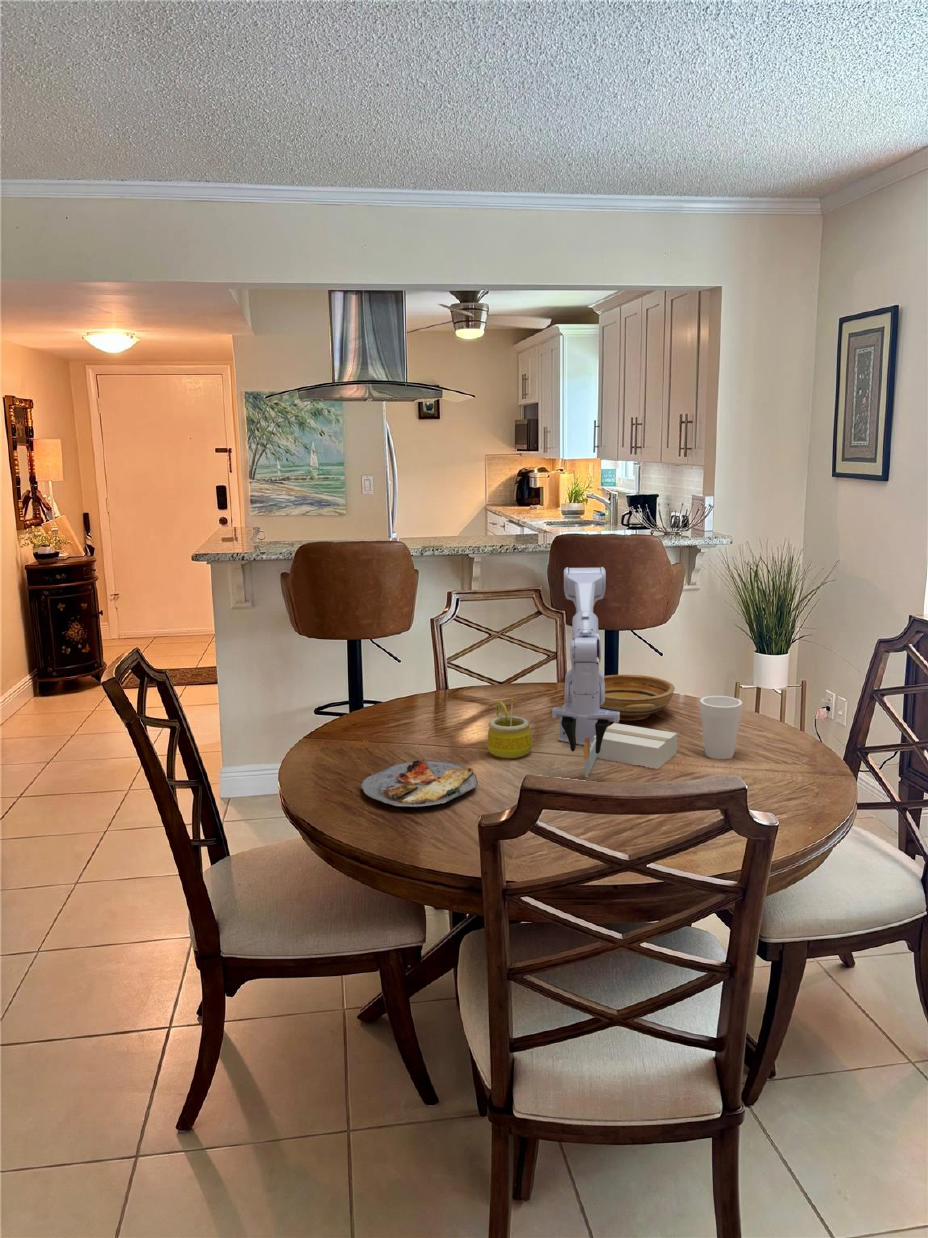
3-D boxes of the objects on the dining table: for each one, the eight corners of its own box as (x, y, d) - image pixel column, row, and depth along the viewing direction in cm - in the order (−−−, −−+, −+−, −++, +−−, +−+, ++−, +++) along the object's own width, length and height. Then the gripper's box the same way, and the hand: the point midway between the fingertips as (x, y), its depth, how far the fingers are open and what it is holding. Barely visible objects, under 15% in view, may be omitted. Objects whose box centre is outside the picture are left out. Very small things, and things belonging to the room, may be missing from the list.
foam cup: (740, 749, 211) (741, 697, 209) (741, 763, 202) (743, 708, 200) (698, 746, 214) (700, 695, 211) (698, 760, 205) (699, 706, 202)
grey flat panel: (594, 757, 207) (594, 722, 206) (597, 757, 207) (597, 722, 206) (584, 779, 194) (584, 741, 193) (587, 779, 194) (587, 742, 192)
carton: (593, 757, 209) (593, 736, 208) (614, 742, 218) (614, 722, 217) (657, 769, 200) (657, 747, 199) (676, 753, 210) (676, 732, 209)
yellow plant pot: (529, 762, 207) (529, 713, 205) (483, 760, 209) (482, 711, 207) (536, 743, 219) (535, 697, 217) (492, 742, 221) (491, 696, 219)
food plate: (419, 761, 209) (419, 747, 208) (498, 783, 195) (497, 768, 194) (342, 798, 190) (340, 782, 190) (422, 826, 176) (421, 809, 175)
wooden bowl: (574, 700, 254) (573, 673, 253) (657, 696, 256) (657, 670, 254) (596, 733, 225) (596, 703, 224) (689, 729, 227) (690, 699, 225)
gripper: (548, 694, 190) (549, 754, 193) (616, 698, 186) (615, 759, 189) (555, 685, 197) (556, 743, 200) (621, 689, 192) (620, 749, 195)
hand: (585, 750), depth 195 cm, fingers open, 5 cm apart
